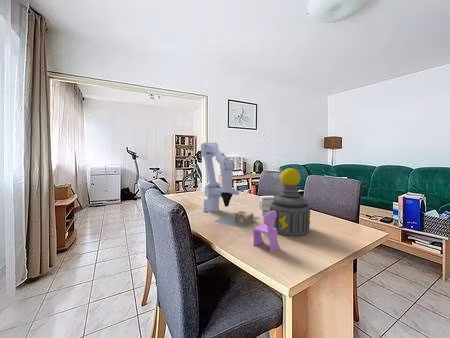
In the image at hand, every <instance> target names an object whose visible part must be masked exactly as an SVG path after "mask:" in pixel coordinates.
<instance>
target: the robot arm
mask: <svg viewBox="0 0 450 338" xmlns="http://www.w3.org/2000/svg"><path fill="white" fill-rule="evenodd" d="M200 153H201V156H202V157H203V159H204V165H205V170H206V171H205V172H206V176H207V183H206V184H205V186H204V195H205V198H204V200H203V210H202V211H203V212H205V213H211V212H216V213H217V212H220V198H222V201H223V205H224V207H229V206H230V202H231V199H232V197H233V195H234V196H235V195H236V196H239V195H240V191H239V190H236V189H233V171H234V169H235V162H234V160H233V159H229V158H228V157H227V156H226V155H225V153H224V152H221V151H220V150H219V145H218V143H217V142H205V141H204V142H202V143H201V145H200ZM214 157H215V161H217V163H218V164H219V169H220V174H221V184H220V183H219V182H218V181H217V178H216V174H215V167H214V162H213V158H214Z"/></svg>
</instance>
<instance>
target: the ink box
mask: <svg viewBox="0 0 450 338" xmlns="http://www.w3.org/2000/svg"><path fill="white" fill-rule="evenodd" d="M274 196H275V195H261V196H259V215H260V216H262V217H264V216H265V215H266V214H267V213H269V212H270V206H271V203H272V202H274V201H273V197H274Z"/></svg>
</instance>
